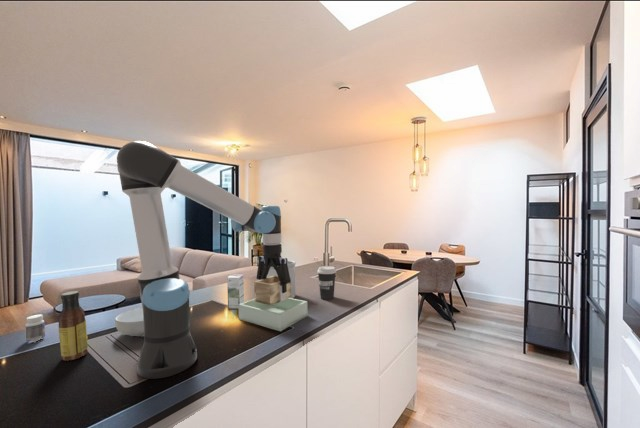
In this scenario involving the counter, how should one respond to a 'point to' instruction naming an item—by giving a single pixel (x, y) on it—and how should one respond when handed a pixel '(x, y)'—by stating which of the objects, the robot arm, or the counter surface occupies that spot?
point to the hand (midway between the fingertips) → (273, 298)
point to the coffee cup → (326, 282)
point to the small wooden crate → (269, 290)
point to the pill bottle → (35, 328)
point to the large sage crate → (273, 313)
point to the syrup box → (235, 291)
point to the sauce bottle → (72, 327)
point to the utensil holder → (291, 272)
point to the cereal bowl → (131, 322)
